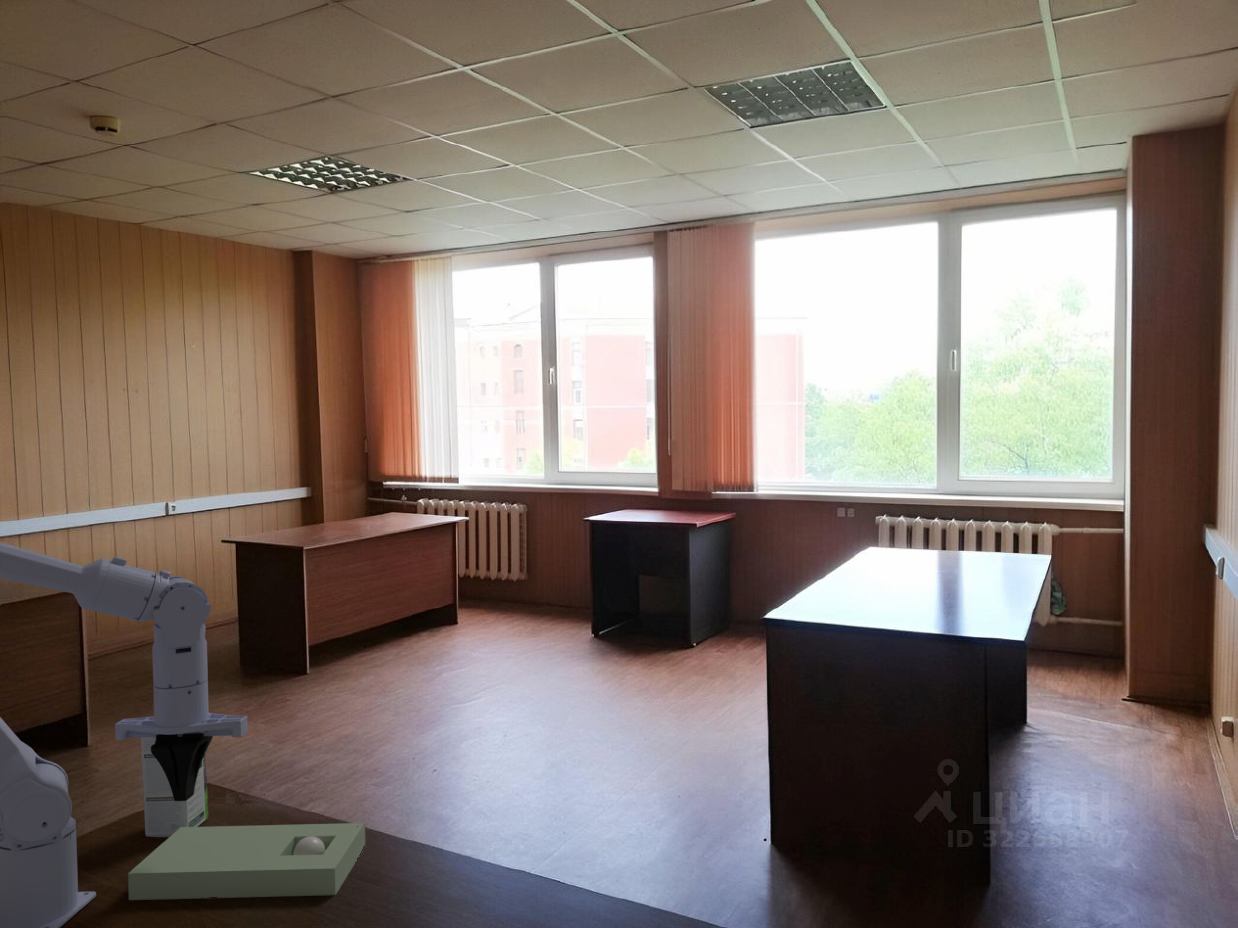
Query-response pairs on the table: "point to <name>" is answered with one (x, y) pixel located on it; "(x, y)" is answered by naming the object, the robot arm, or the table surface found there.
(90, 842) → the table surface
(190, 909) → the table surface
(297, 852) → the ball
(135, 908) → the table surface
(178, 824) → the syrup box
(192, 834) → the green board
